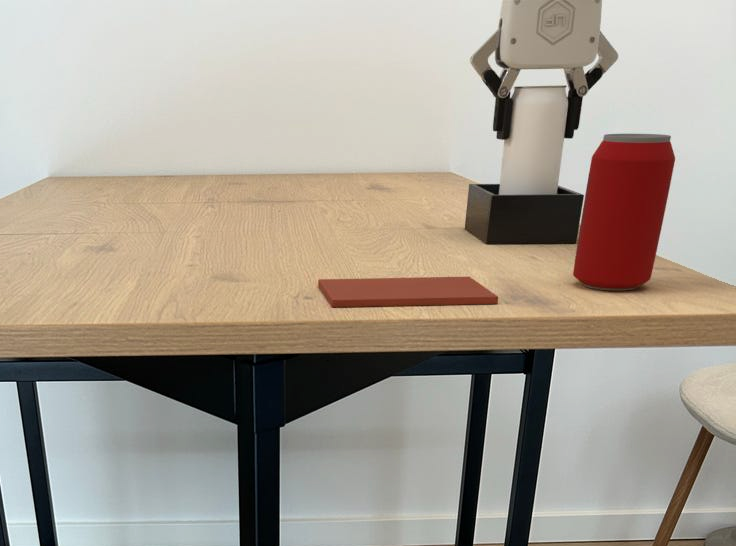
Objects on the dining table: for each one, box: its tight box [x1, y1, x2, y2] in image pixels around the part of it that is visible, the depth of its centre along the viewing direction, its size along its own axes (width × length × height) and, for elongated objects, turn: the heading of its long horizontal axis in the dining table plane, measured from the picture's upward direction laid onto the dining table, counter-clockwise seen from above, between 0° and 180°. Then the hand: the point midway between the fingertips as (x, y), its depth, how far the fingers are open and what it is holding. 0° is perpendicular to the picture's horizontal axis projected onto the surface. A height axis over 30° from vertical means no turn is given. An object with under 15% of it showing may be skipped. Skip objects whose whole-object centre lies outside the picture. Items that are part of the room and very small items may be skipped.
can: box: [499, 85, 568, 195], centre depth 105 cm, size 6×6×12 cm
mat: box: [317, 276, 499, 308], centre depth 81 cm, size 14×9×1 cm, turn 94°
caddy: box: [464, 183, 585, 245], centre depth 109 cm, size 12×10×5 cm
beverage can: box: [572, 133, 676, 292], centre depth 82 cm, size 7×7×12 cm
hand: (534, 136), depth 105 cm, fingers closed on can, 6 cm apart
